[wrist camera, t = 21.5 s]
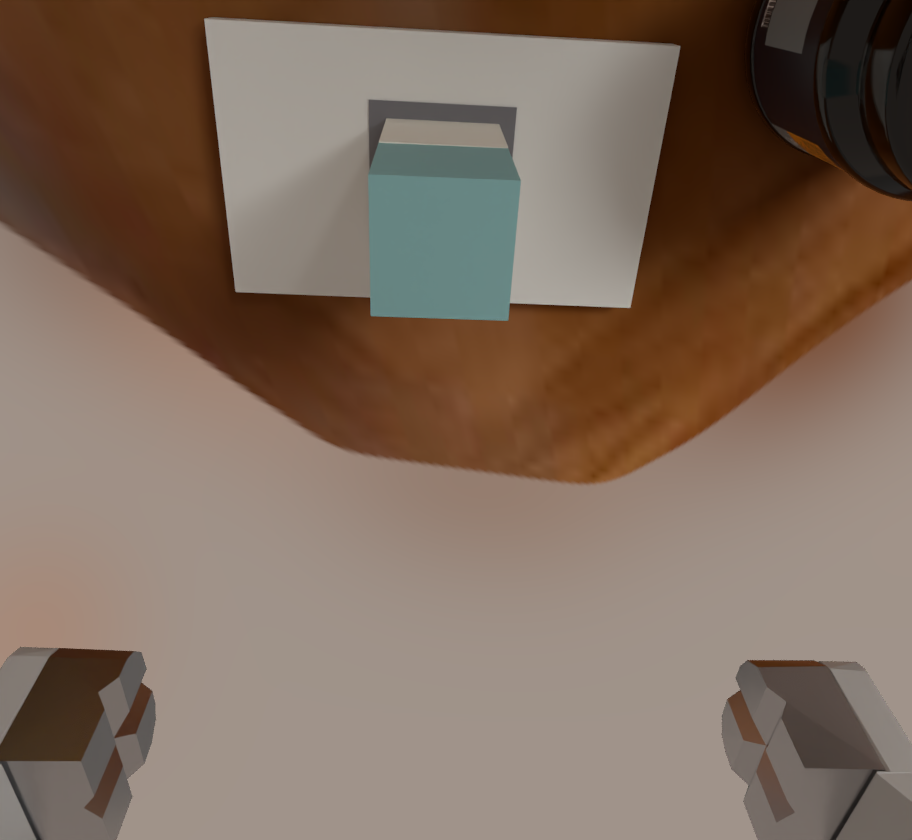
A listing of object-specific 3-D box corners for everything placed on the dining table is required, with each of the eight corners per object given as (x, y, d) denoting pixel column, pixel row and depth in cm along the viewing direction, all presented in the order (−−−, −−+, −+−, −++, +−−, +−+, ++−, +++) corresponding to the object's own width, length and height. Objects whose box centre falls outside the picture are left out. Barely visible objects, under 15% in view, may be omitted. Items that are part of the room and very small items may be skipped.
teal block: (508, 148, 28) (521, 180, 24) (498, 271, 31) (508, 320, 27) (378, 142, 28) (368, 174, 24) (379, 267, 31) (370, 316, 26)
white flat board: (672, 43, 32) (681, 46, 31) (625, 298, 38) (630, 308, 37) (211, 16, 31) (203, 18, 30) (240, 283, 37) (235, 292, 36)
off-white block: (499, 124, 32) (508, 147, 28) (490, 234, 35) (497, 271, 31) (386, 118, 32) (378, 141, 28) (386, 229, 35) (379, 266, 31)
